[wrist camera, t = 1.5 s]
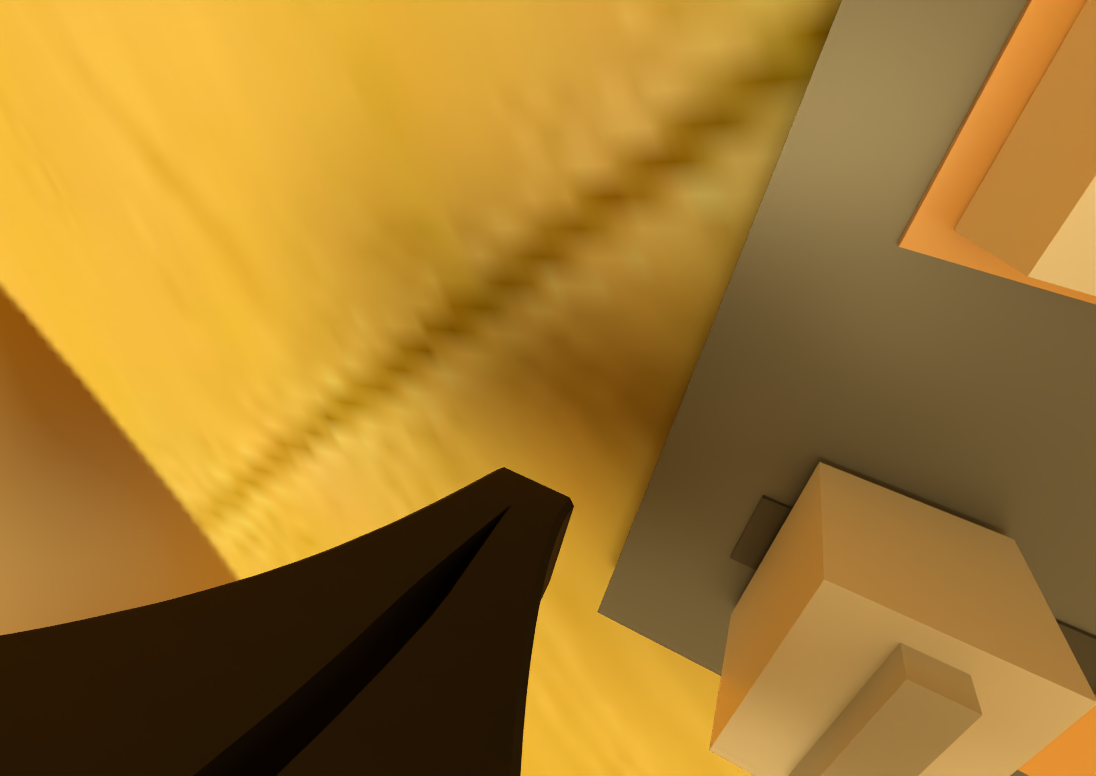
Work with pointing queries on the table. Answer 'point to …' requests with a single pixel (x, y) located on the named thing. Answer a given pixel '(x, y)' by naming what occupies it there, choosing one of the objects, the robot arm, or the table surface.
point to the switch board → (885, 341)
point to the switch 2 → (1047, 174)
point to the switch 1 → (891, 646)
